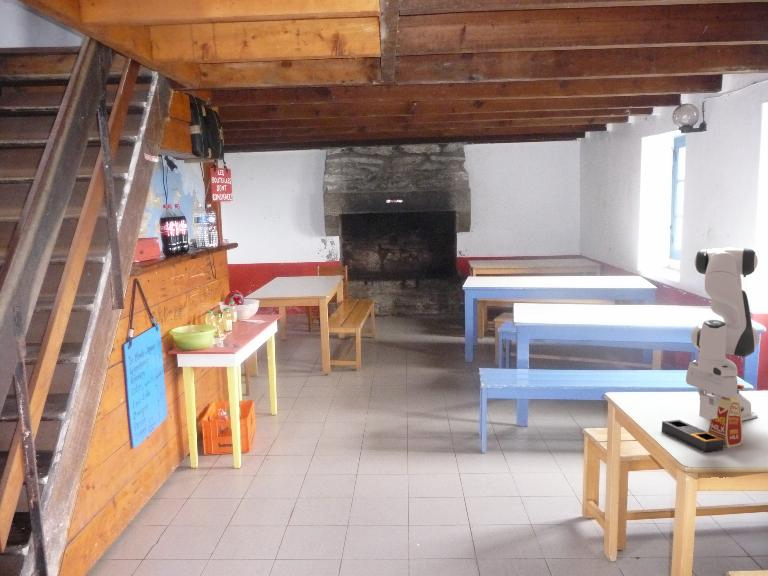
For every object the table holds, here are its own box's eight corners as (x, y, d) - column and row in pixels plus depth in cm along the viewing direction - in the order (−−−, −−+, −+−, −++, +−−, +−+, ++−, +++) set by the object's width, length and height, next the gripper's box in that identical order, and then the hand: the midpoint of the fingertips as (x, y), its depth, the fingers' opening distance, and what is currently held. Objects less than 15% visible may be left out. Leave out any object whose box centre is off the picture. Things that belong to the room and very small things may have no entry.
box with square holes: (678, 429, 238) (679, 419, 237) (723, 450, 217) (724, 439, 216) (661, 431, 236) (662, 420, 235) (705, 452, 214) (705, 441, 214)
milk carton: (727, 447, 219) (731, 394, 217) (705, 439, 228) (709, 388, 225) (744, 444, 223) (748, 392, 220) (721, 435, 231) (725, 385, 229)
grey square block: (708, 415, 220) (709, 393, 219) (717, 418, 216) (718, 396, 215) (699, 416, 219) (700, 394, 218) (708, 419, 215) (709, 397, 214)
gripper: (682, 359, 225) (680, 395, 226) (727, 373, 205) (724, 412, 207) (696, 358, 226) (694, 394, 228) (742, 372, 207) (739, 411, 208)
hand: (708, 403), depth 217 cm, fingers closed on grey square block, 4 cm apart
